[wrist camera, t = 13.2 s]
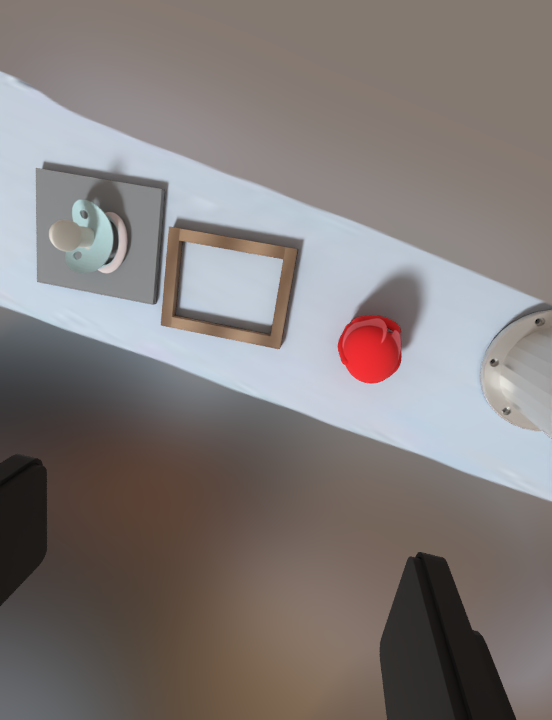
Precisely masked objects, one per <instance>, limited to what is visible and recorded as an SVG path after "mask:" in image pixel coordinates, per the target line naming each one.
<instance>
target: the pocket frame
mask: <svg viewBox="0 0 552 720" xmlns="http://www.w3.org/2000/svg"><path fill="white" fill-rule="evenodd" d="M182 241H185V242H191V243H196V244H202V245H207V246H213V247H218V248H224V249H230V250H235V251H241V252H246V253H252V254H257V255H263V256H268V257H274V258H280V259H283V265H282V271H281V277H280V283H279V289H278V295H277V301H276V307H275V313H274V318H273V324H272V330H271V334H266V333H261V332H256V331H251V330H246V329H241V328H236V327H231V326H226V325H221V324H216V323H211V322H206V321H200V320H195V319H190V318H185V317H180V316H176V305H177V294H178V284H179V273H180V263H181V252H182ZM297 253H298V249H293V248H288V247H282V246H276V245H271V244H265V243H259V242H254V241H248V240H243V239H237V238H231V237H226V236H220V235H214V234H209V233H203V232H197V231H192V230H186V229H180V228H175V227H169V233H168V245H167V257H166V269H165V281H164V293H163V305H162V317H161V325H162V326H167V327H172V328H177V329H181V330H186V331H191V332H196V333H201V334H206V335H211V336H216V337H221V338H226V339H231V340H236V341H241V342H246V343H251V344H256V345H261V346H266V347H271V348H276V349H280V347H281V342H282V336H283V331H284V325H285V320H286V314H287V308H288V303H289V297H290V292H291V286H292V281H293V275H294V269H295V264H296V258H297Z"/></svg>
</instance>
